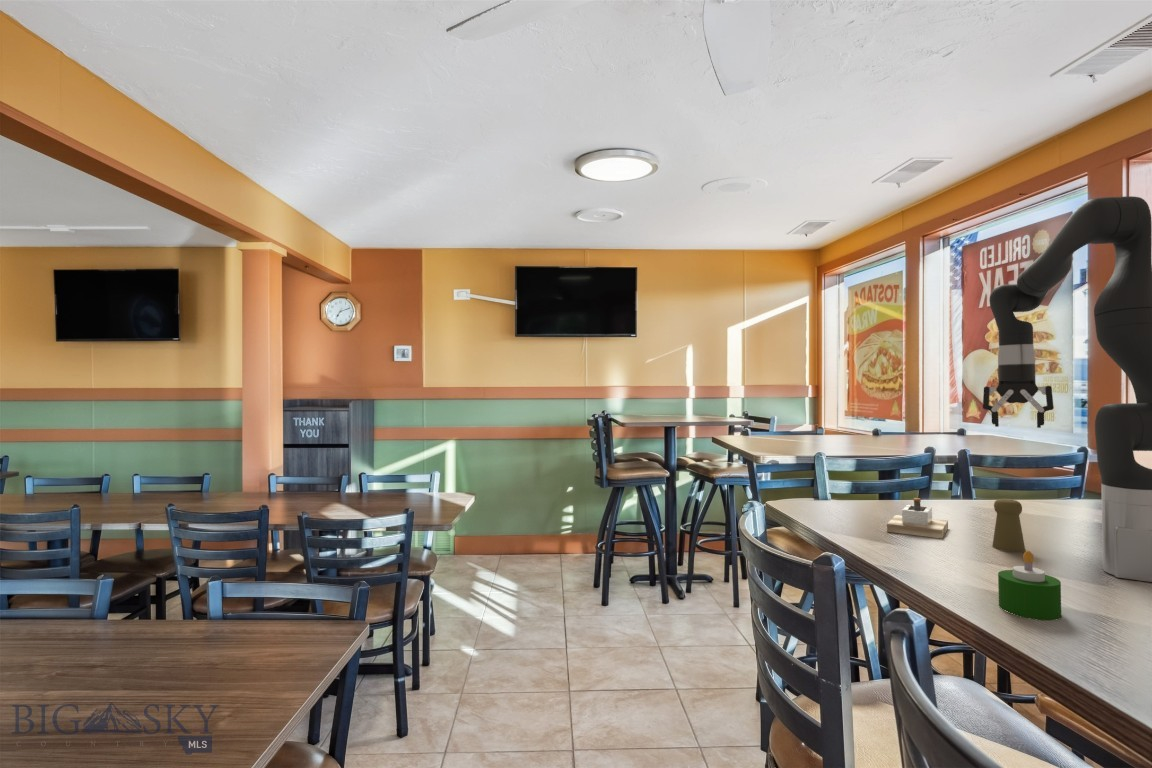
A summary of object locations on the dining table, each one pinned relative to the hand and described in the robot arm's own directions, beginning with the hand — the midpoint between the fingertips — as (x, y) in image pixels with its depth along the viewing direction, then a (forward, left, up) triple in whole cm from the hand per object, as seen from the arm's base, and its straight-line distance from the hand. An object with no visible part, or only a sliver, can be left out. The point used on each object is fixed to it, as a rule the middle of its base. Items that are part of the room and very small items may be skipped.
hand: (1017, 427), depth 149 cm
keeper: (-14, +21, -26) cm, 36 cm away
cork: (-21, +2, -26) cm, 34 cm away
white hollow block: (-14, +21, -24) cm, 35 cm away
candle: (-63, -2, -26) cm, 68 cm away
